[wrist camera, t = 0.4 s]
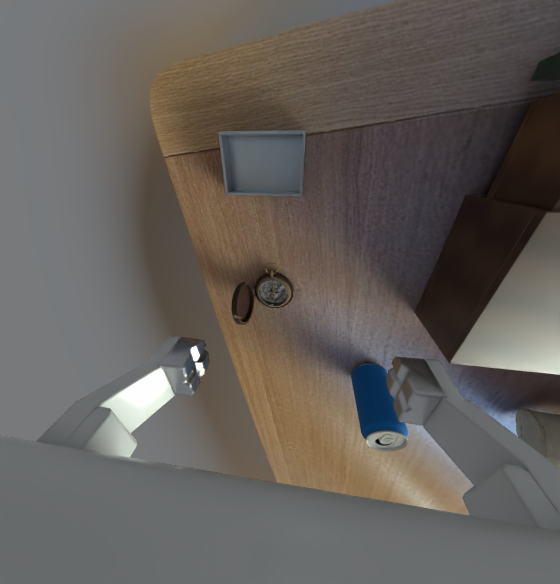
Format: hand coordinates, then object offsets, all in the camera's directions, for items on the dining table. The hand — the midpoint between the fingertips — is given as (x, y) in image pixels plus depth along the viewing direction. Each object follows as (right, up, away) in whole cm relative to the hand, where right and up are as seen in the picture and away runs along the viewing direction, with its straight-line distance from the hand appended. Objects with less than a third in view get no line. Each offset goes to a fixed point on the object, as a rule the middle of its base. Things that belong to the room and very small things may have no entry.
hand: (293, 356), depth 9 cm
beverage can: (+16, -13, +31) cm, 37 cm away
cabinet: (+27, +6, +18) cm, 33 cm away
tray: (-2, +18, +15) cm, 24 cm away
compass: (-2, +4, +24) cm, 24 cm away
